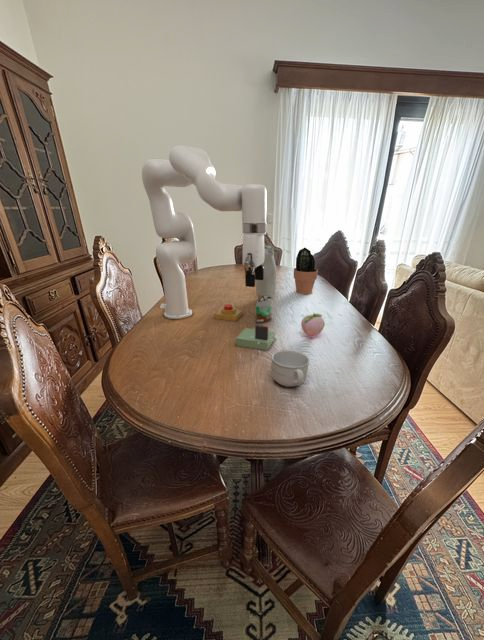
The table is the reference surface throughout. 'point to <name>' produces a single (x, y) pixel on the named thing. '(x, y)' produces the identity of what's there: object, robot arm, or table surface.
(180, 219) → the robot arm
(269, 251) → the glass bottle
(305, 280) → the potted plant
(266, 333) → the black rectangular slab
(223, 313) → the button block
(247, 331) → the panel
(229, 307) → the button
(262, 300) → the food container
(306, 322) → the decorative fruit
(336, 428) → the table surface
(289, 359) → the teacup
